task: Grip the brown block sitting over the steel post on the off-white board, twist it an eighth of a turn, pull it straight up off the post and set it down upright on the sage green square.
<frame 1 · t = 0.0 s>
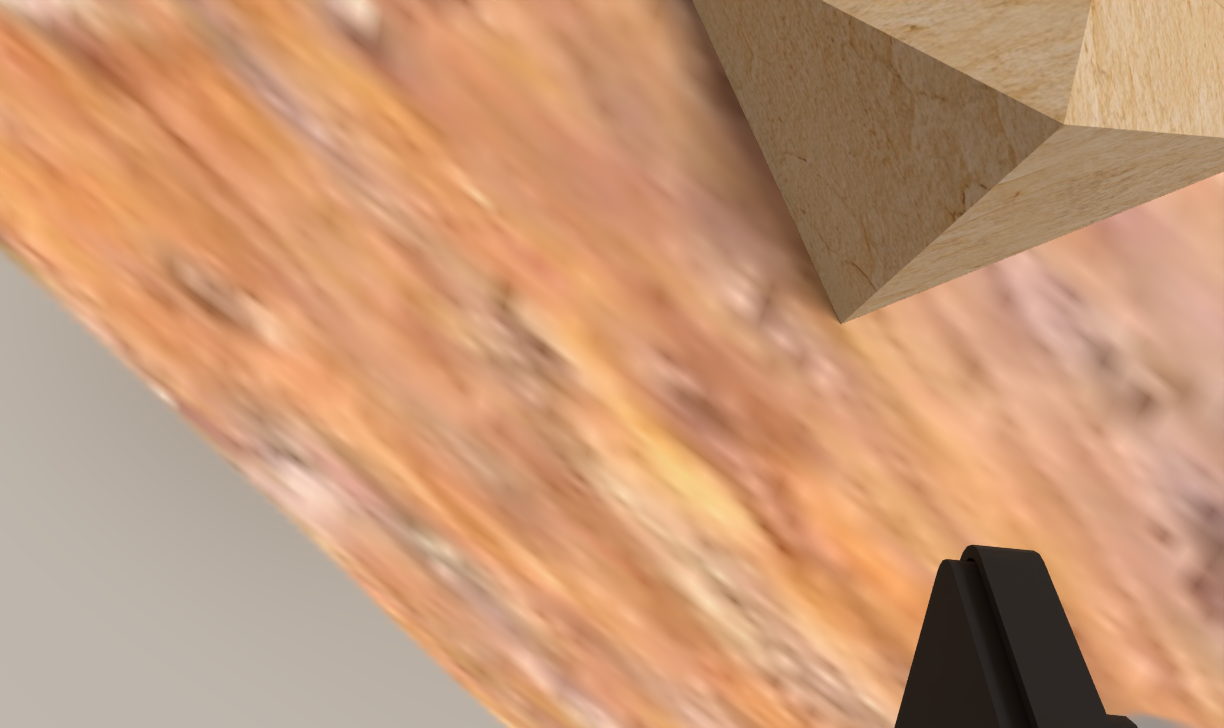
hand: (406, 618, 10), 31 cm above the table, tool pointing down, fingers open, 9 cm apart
model pyramid: (975, 18, 38), on the table
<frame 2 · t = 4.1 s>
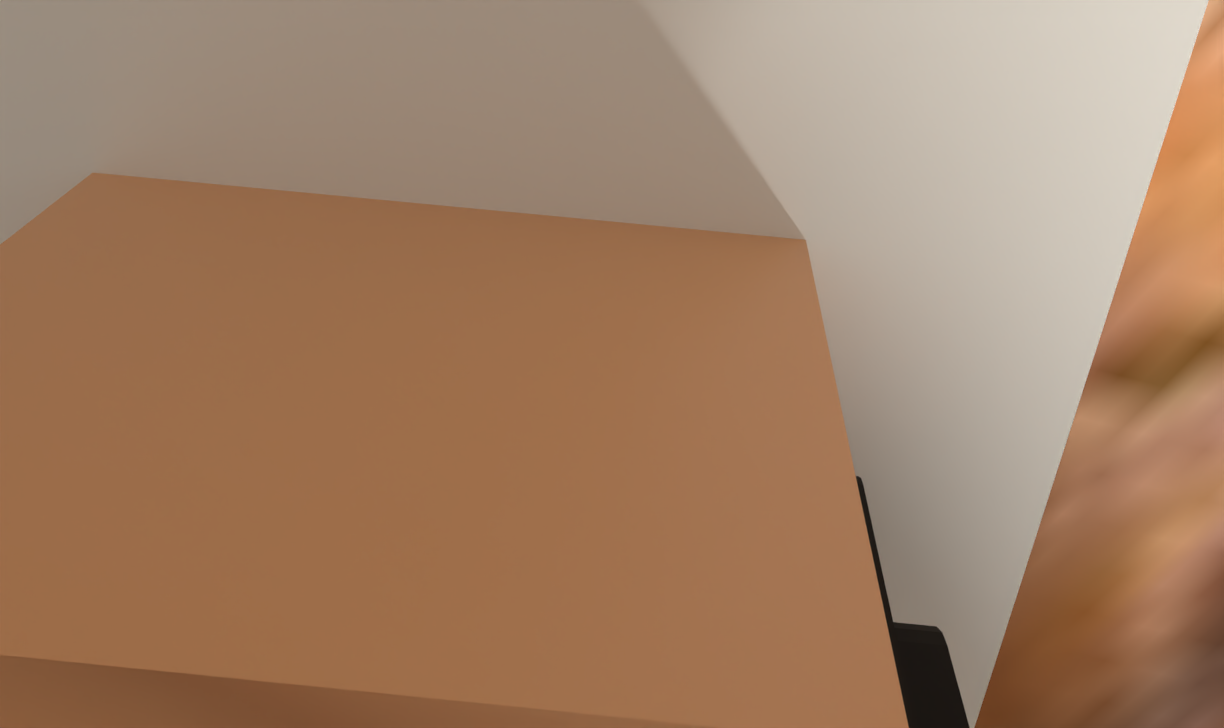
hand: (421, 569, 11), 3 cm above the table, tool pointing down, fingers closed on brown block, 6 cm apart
brown block: (445, 496, 12), point 1 cm above the table, touching gripper, post board
when the fingers open (4 cm above the table, at t = 12.3 s): brown block drops 1 cm, resting on post board.
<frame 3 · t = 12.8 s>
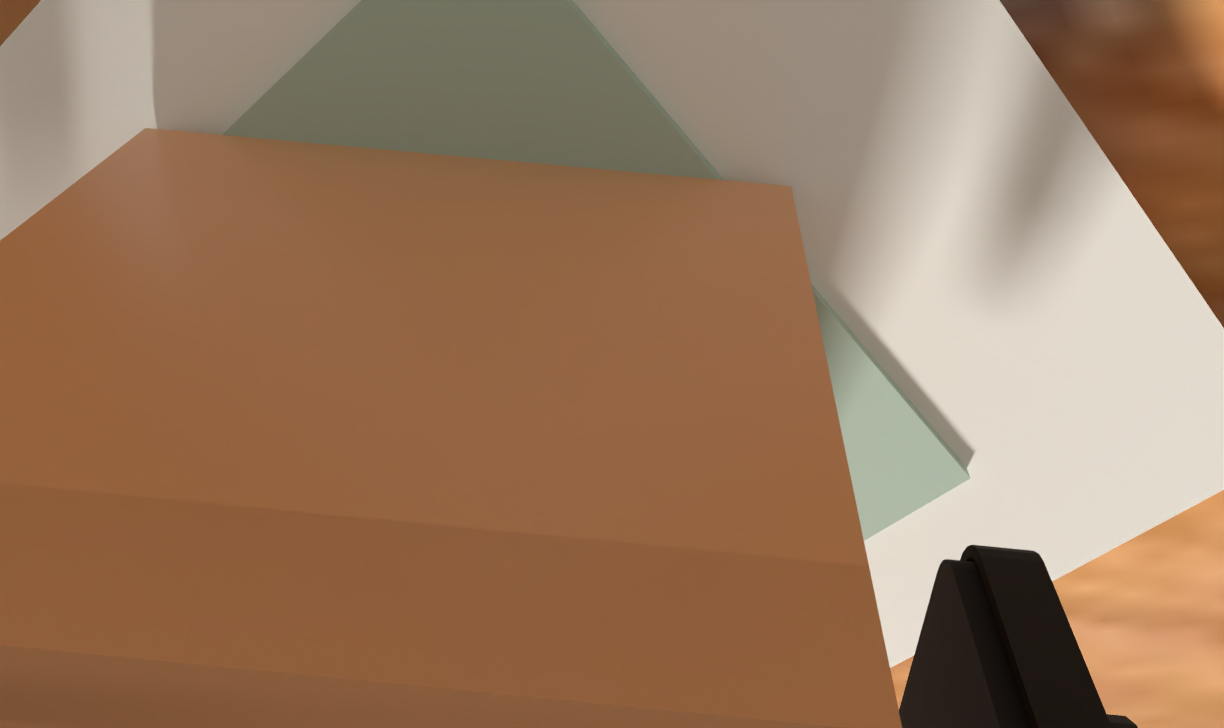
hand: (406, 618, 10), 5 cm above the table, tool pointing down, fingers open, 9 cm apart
brown block: (463, 429, 13), point 2 cm above the table, touching post board
post board: (144, 617, 17), on the table
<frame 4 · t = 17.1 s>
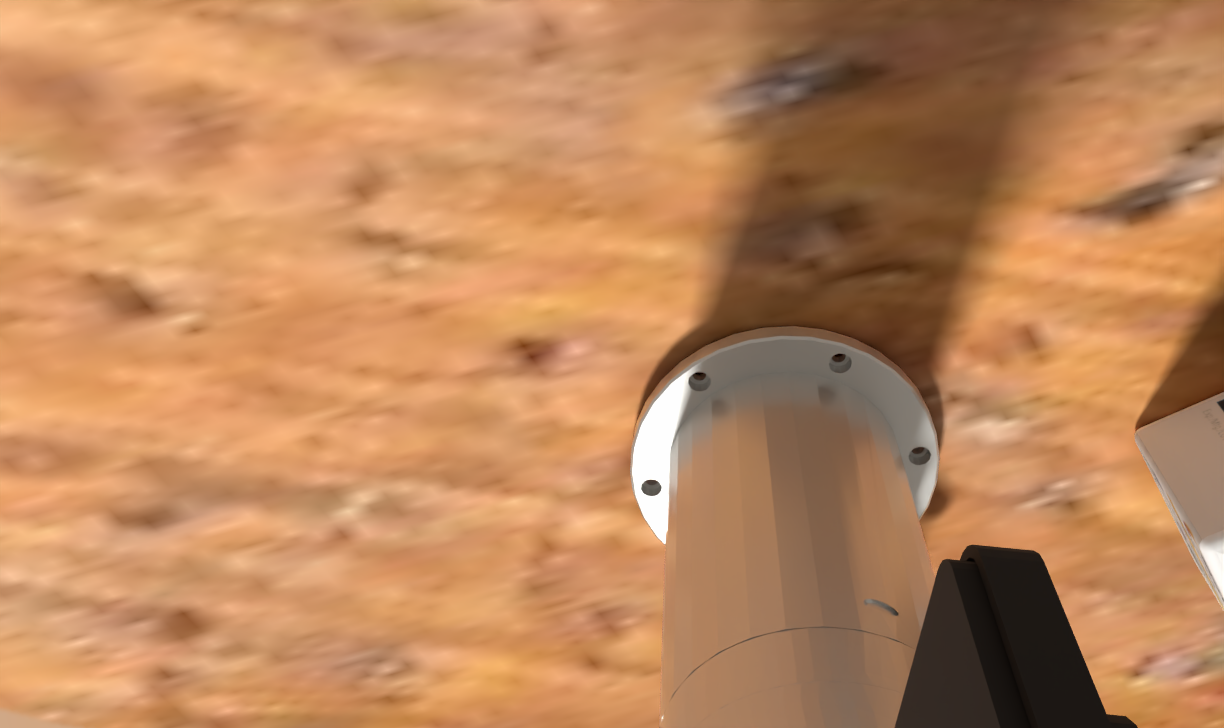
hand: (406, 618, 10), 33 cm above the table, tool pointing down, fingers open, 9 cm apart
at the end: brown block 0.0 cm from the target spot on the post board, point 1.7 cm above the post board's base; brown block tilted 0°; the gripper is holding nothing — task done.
